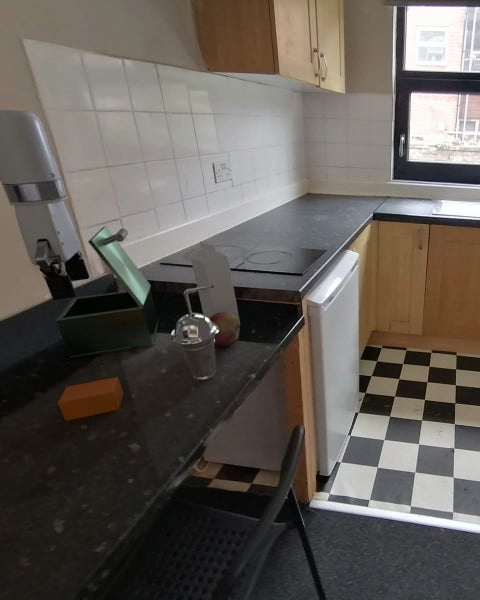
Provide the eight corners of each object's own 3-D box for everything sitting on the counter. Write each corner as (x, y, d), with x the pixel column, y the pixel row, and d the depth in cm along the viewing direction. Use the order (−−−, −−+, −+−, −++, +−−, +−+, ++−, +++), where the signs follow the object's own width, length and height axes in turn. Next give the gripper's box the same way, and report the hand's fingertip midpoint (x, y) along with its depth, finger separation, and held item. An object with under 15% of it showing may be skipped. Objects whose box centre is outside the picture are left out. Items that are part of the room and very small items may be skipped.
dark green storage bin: (71, 360, 88) (55, 320, 84) (86, 334, 99) (73, 297, 95) (153, 346, 94) (142, 307, 90) (159, 323, 105) (149, 287, 101)
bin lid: (87, 241, 81) (112, 231, 82) (102, 227, 92) (124, 218, 93) (139, 307, 90) (161, 296, 91) (147, 287, 100) (167, 278, 101)
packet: (65, 421, 70) (57, 402, 69) (73, 404, 75) (66, 386, 73) (118, 409, 73) (112, 391, 72) (123, 394, 77) (117, 376, 76)
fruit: (226, 356, 90) (219, 325, 86) (200, 350, 92) (192, 319, 89) (250, 340, 96) (245, 310, 93) (225, 334, 99) (219, 305, 96)
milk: (227, 319, 107) (211, 238, 98) (240, 325, 104) (226, 242, 95) (205, 328, 102) (187, 243, 93) (219, 334, 99) (201, 248, 90)
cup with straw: (205, 360, 88) (185, 275, 80) (237, 368, 85) (221, 281, 77) (172, 381, 81) (147, 290, 73) (207, 391, 78) (184, 297, 70)
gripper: (27, 187, 72) (61, 276, 79) (-17, 203, 58) (30, 310, 65) (78, 184, 75) (106, 270, 82) (47, 198, 61) (85, 302, 68)
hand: (72, 288), depth 73 cm, fingers open, 9 cm apart
